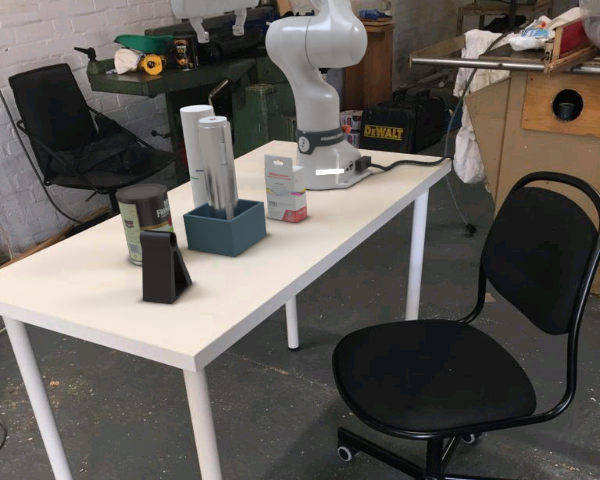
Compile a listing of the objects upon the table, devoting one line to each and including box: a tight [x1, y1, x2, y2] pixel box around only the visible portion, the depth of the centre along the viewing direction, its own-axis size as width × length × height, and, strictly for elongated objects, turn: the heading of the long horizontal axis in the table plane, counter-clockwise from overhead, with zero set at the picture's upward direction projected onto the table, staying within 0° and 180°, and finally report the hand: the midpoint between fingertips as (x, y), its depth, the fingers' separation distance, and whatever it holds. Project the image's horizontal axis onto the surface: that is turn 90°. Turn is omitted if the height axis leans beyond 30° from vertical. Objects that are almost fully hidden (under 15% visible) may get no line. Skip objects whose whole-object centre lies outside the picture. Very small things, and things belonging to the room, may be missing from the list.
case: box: [182, 198, 268, 258], centre depth 140 cm, size 13×12×8 cm
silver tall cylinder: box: [198, 115, 240, 221], centre depth 135 cm, size 6×6×25 cm
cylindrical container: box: [179, 104, 215, 209], centre depth 147 cm, size 7×7×25 cm
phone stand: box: [140, 230, 193, 304], centre depth 119 cm, size 9×6×12 cm, turn 162°
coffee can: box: [115, 182, 175, 266], centre depth 134 cm, size 10×10×14 cm
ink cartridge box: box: [263, 153, 308, 224], centre depth 149 cm, size 9×5×15 cm, turn 55°
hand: (221, 38), depth 130 cm, fingers open, 8 cm apart
